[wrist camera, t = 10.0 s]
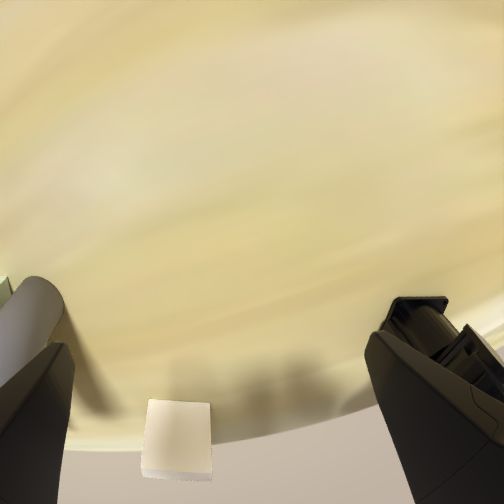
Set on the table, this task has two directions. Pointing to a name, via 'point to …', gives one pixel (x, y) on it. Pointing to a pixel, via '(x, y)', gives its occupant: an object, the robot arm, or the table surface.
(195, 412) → the wall frame
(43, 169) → the table surface
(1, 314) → the post
